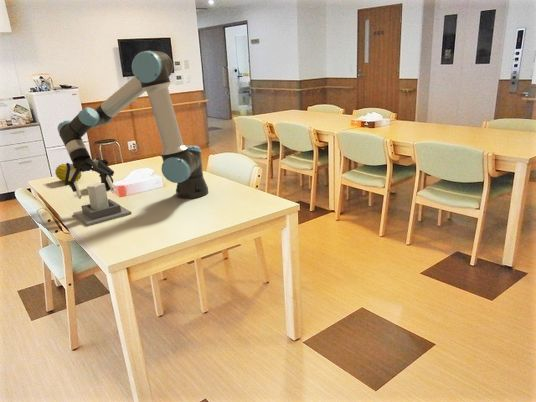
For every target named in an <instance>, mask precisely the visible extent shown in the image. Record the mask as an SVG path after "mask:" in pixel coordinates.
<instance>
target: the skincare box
mask: <svg viewBox="0 0 536 402" xmlns="http://www.w3.org/2000/svg"><path fill="white" fill-rule="evenodd" d="M86 189H87V195H88V198H89V199H88V200H89V204H90V205H91V210H93V211H95V210H99V209H103V208H107V207H109V204H108V194H107V190H106V188H105V183H101V182H95V183H93V184H90V185H87V186H86Z"/></svg>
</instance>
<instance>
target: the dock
mask: <svg viewBox="0 0 536 402" xmlns="http://www.w3.org/2000/svg"><path fill="white" fill-rule="evenodd" d="M108 204H109V207H107V208H103V209H99V210H95V211H93V210H91V205H90V203H87V204H84V205H81V206H80V207H81V210H78V211H75V212H73V213H72V215H73V217H75V218H77V219H78V220H79V221H80V222H82V223H83V224H84V225H86V226H87V227H89V226H93V225H97V224H101V223H104V222H108V221H111V220H114V219H119V218H122V217H125V216H130V215H132V211H131V210H130V209H129V210H128V209H127V208H125V207H123V206H122V205H120V204H119V203H117V202H115V201H113V199H112V200H111V199H108Z"/></svg>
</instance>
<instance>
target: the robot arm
mask: <svg viewBox="0 0 536 402" xmlns="http://www.w3.org/2000/svg"><path fill="white" fill-rule="evenodd" d="M173 69H174V64H173V60H172V59H171V57H170V56H169V55H168V54H167V53H165V52H163V51H161V50H160V51H159V50H158V51H157V50H155V51H154V50H144V51H140V52H138V53H137V54H136V55H135V56H134V58H133V60H132V62H131V70H132V71H131V72H132V74H133V75H134V77H132V78H131V79H129V80H128V81H127V82H126V83H125V84H123V85H122V86H121V87H120V88H119V89H118V90H116V91H115V92H114V93H113V94H111V96H109V97H107V99H106V100H104V101H103V102H102V103H101V104H100V105H98V106H97V107H96V108H92V107H89V106H86V107H84V108H83V109H82V110H80V111H79V112H78V113H77V114H76V116H74V118H73V119H72V120H63V121H62V122H60V123H59V124H58V125H57V132H58V135H59V138H60V139H61V141H62V143H63V145H64V147H65V149H66V151H67V154H68V156H69V158H70V161H71V162H72V163H70V162H66V163H65V164H66V169H67V172H66V178H65V181H64V186H65V187H66V186H69V187H70V188H71V190H72V192H74V193H75V194H76V196H77V198H78V200H81V199H82V193H81V191H80V189H79V185H78V183H77V181H76V182H75V180H76V178H77V176H78V174H79V173H80V171H81V173H85V172H90V171H91V172H95V173H97V174H99V175H100V174H101V175H103V176H105V177H106V180H107V182H108V184H109V186H110V189H111V190H110V191H111V192H113V191H114V190H115V186H114V179H113V176H114V174H115V171H114V170H113V169H112V168H111V167H109V165H108V166H107V165H105V164H104V163H103V162H102V161H101V160H102V159H100V157H96V158H95V159H92V158H91V155H90V153H89V151H88V149H87V147H86V144H85V143H84V141H83V138H82V137H83V136H85V135H86V134H87V133H88V131H90V130H91V129H94V128H97V127H101V126H106V125H107V124H109V123H110V122H111V121H112V120H113V118H114V117H115V116H116V115H118V114H119V113H121V112H122V111H123V110H124V109H125V108H127V107H128V106H129V105H131V104H132V103H133V102H135V100H137V98H139V97H141V96H142V95H143V94H144V93H147V97H148V100H149V104H150V107H151V111H152V113H153V117H154V120H155V121H154V122H155V125H156V127H157V128H156V129H157V132H158V135H159V138H160V143H161V145H162V152H160V155H161V159H162V161H163V162H162V164H161V173H162V176H163V177H164V178H165V179H166V180H167V181H169V182H171V183H173V184H174V183H175V184H176V189H175V196H176V197H178V198H180V199H195V198H200V197H201V198H202V197H204V196H207V194H209V186H208V184H207V183H206V180H205V177H204V172H203V162H202V160H203V159H202V150H201V147H200V146H199V145H185V144H184V142H183V139H182V135H181V130H180V128H179V127H180V126H179V124H178V120H177V116H176V112H175V108H174V105H173V101H172V98H171V94H170V91H169V86H170V84H171V79H170V77H171V75H172V73H173ZM98 166H99V167H101V168H102V169H101V168H99V167H98ZM72 167H74V168H75V169H76V171H75V173H74V175H73V177H72V179H71V181H68V180H69V174H70V170H71V169H72Z"/></svg>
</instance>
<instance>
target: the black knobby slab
mask: <svg viewBox="0 0 536 402" xmlns="http://www.w3.org/2000/svg"><path fill="white" fill-rule="evenodd" d="M100 160H101V161H102V162H103V163H104V164H105V165H107V166H108V167H109V165H108V163H109V161H107V159H106V158H105V159H100ZM97 167H99V166H98V165H97ZM99 168H101V167H99ZM101 169H102V168H101ZM98 176H99V177H100V181H101V182H100V183H105V188H106V191H111V190H110V186H109V184H108V182H107V180H106V177H105V176H103V175H101V174H99V175H98Z"/></svg>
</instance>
